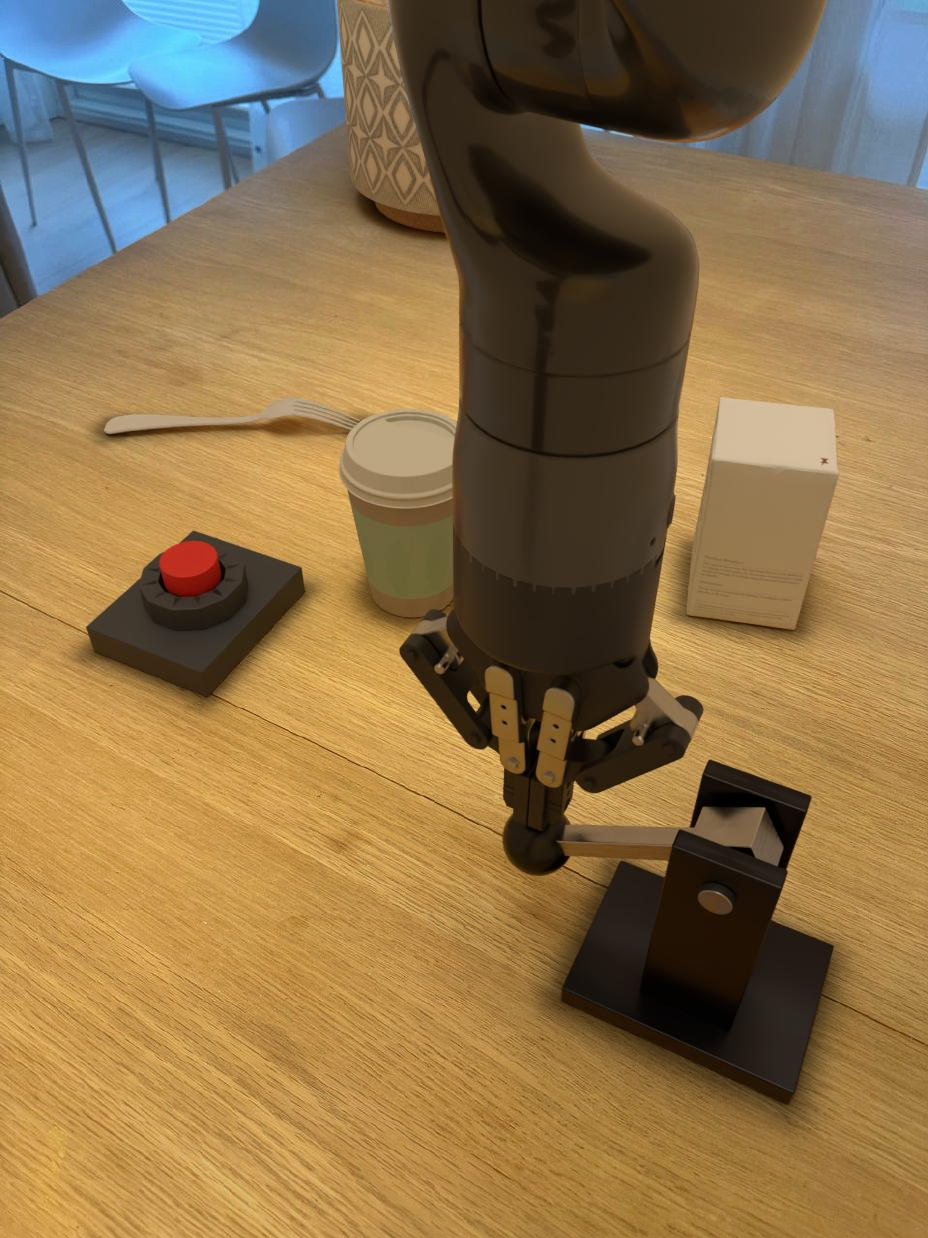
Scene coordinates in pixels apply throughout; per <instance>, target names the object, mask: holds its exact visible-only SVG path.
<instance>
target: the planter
mask: <svg viewBox="0 0 928 1238" xmlns="http://www.w3.org/2000/svg"><path fill="white" fill-rule="evenodd" d="M336 7H337V21H338V32H339V33H338V34H339V46H340V60H341V73H342V75H341V76H342V85H343V86H342V87H343V98H344V99H343V100H344V101H343V102H344V113H345V126H346V127H345V129H346V140H347V153H348V154H347V155H348V165H349V177H350V181H351V184H352V185H353V187H354V188H355V189H356V190H357V191H358V192H359V193H361V194H362V195H363V196H364V197H365V198H368V199H369V200H371V201H372V202H374V204H375V207H376V208H377V209H378V211H379V212H380V213H381V214H382V215H383V216H385V217H386V218H387V219H389V220H391V221H393V222H395V223H398V224H400V225H403V226H406V227H409V228H413V229H417V230H422V231H426V232H427V231H428V232H434V233H442V234H443V233H444V234H445V231H444V227H443V224H442V220H441V217H440V213H439V210H438V206H437V202H436V198H435V194H434V190H433V186H432V182H431V178H430V175H429V171H428V168H427V164H426V160H425V157H424V153H423V150H422V146H421V143H420V139H419V136H418V132H417V128H416V125H415V121H414V118H413V114H412V111H411V107H410V104H409V100H408V96H407V93H406V89H405V85H404V82H403V78H402V74H401V70H400V65H399V61H398V56H397V52H396V47H395V43H394V38H393V33H392V26H391V18H390V10H389V2H388V0H336Z"/></svg>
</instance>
